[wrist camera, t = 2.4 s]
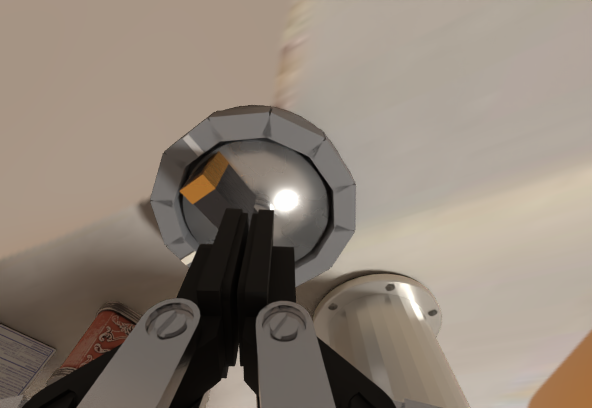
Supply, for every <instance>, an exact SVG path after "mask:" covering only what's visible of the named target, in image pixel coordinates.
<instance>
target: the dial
mask: <svg viewBox="0 0 592 408" xmlns="http://www.w3.org/2000/svg"><path fill="white" fill-rule="evenodd" d="M180 192H181V193H182V194H183V211H184V216H185V220H186V222H187V225H188V227H189V229H190V231H191V233H192V235H193V236H194V238H195V239H196V240H197V242H198V243H199V244H213V243H214V240H215V237H216V235H217V232H218V229H219V226H220V224H221V221H222V218H223V215H224V213H225V210H226V208H235V209H242V210H243V213H248V221H249V228H250V223H251V218H252V214H253V213H258V211H259V209H261V210H274V236H273V246H285V247H294V255H295V261H297V260H299V259H300V258H302V257H303V256H305V255H306V254H307V253H309V252H310V251H311V250H312V249H313V248H314V247H315V246H316V244H317V243H318V241H319V240H320V239H321V237H322V235H323V233H324V231H325V228H326V225H327V221H328V216H329V203H328V197H327V192H326V188H325V185H324V182H323V179H322V177H321V175H320V173H319V172H318V170H317V168H316V167H315V166H314V164H313V163H312V162H311V161H310V160H309V159H308V158H307V157H306V156H305V155H304V154H302V153H300V152H298V151H296V150H293V149H291V148H289V147H287V146H284V145H282V144H280V143H278V142H276V141H273V140H271V139H269V138H254V139H243V140H231V141H227V142H225V143H223V144H221V145H219V146H217V147H216V148H214V149H212V150H211V151H210V152H209V153H208V154H206V155H205V156H204V157H203V158H202V160H201V161H200V162H199V163H198V164H197V166H196V167H195V168H194V169H193V171H192V173H191V174H190V176H189V178H188V180H187V182H186V183H185V185H184V186H183V187H182V189H181V190H180Z"/></svg>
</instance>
